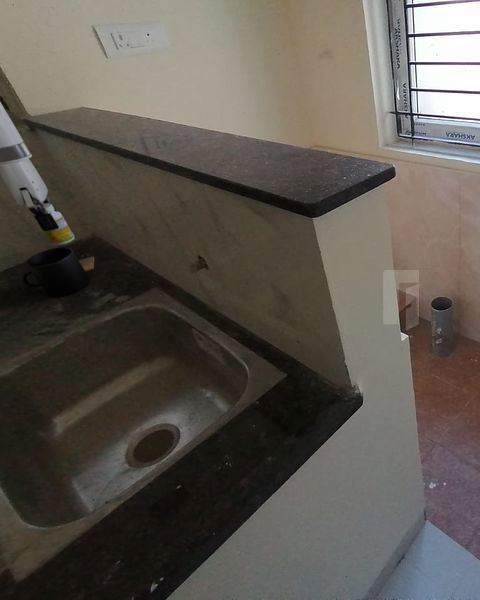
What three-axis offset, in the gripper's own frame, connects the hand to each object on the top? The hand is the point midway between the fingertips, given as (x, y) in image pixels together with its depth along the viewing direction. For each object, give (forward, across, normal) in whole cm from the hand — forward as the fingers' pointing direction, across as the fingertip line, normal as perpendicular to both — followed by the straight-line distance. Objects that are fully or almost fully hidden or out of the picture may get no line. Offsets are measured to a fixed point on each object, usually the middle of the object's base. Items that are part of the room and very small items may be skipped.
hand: (52, 224), depth 99 cm
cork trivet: (+13, 0, 0) cm, 13 cm away
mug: (+13, +10, -3) cm, 17 cm away
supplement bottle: (+5, 0, 0) cm, 5 cm away
